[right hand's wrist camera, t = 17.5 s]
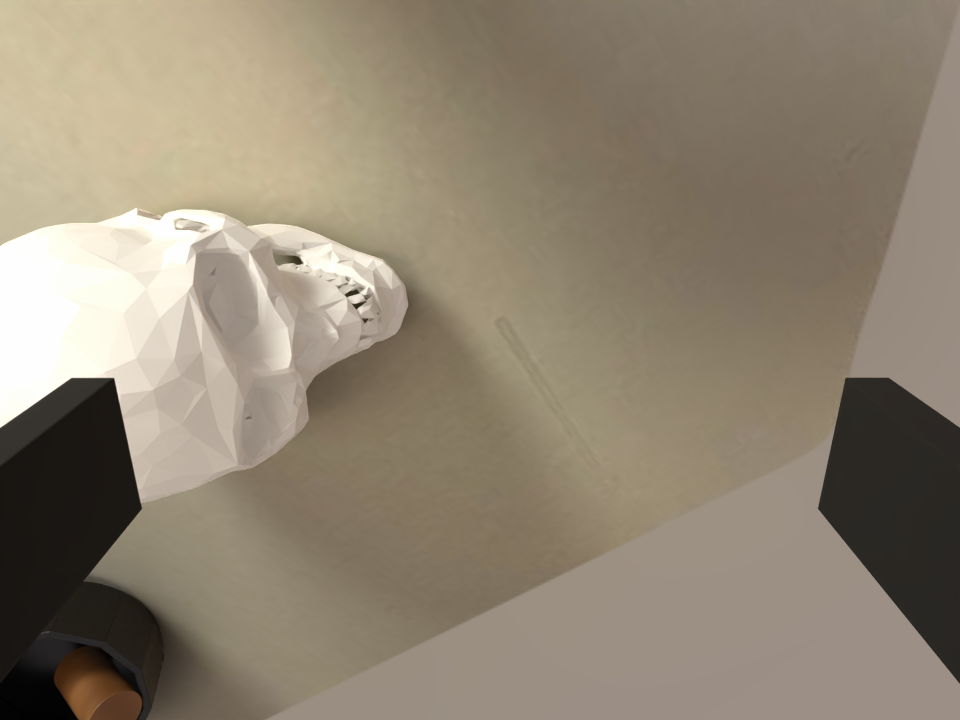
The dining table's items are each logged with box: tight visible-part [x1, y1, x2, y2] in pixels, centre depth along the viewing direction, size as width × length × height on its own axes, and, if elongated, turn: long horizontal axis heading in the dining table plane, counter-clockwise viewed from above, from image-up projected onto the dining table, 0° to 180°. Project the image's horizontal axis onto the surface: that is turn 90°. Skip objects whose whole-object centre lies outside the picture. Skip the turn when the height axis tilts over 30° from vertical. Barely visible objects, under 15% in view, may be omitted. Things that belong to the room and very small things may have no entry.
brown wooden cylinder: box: [54, 645, 142, 720], centre depth 46 cm, size 3×3×6 cm
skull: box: [0, 208, 408, 503], centre depth 34 cm, size 13×22×16 cm, turn 100°
